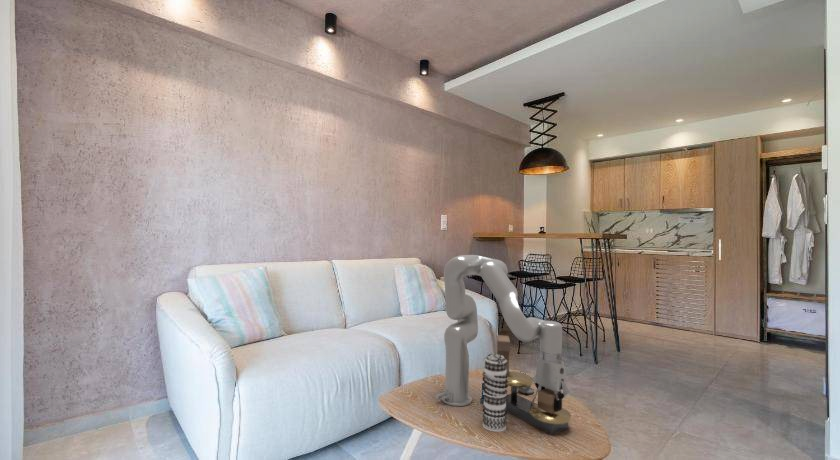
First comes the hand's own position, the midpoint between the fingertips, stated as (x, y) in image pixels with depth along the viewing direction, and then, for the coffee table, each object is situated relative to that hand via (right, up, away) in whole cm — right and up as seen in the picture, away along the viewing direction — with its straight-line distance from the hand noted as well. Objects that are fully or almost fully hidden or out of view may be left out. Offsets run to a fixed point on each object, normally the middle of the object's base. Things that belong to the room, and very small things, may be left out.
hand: (549, 406), depth 138 cm
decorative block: (-8, -8, +43) cm, 45 cm away
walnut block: (0, -1, 0) cm, 1 cm away
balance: (-5, -7, +7) cm, 11 cm away
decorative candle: (-20, -7, -1) cm, 21 cm away
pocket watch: (-1, -8, +30) cm, 31 cm away
